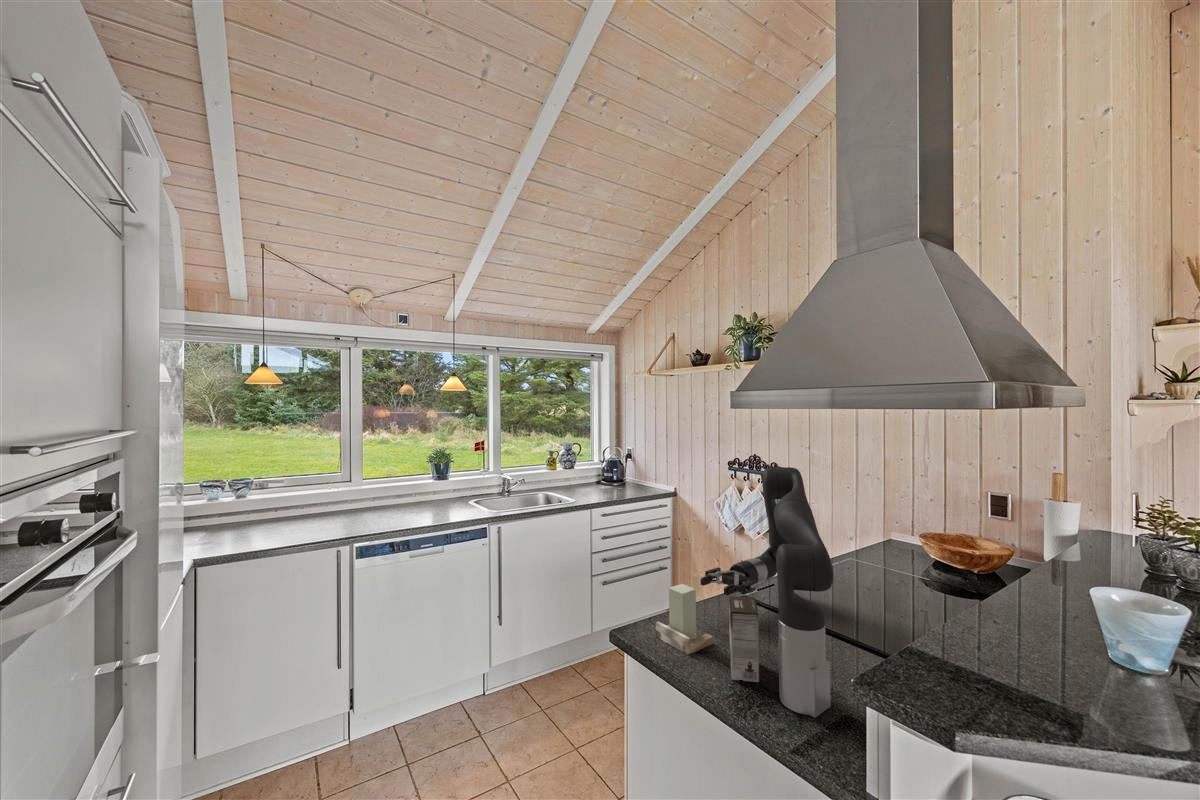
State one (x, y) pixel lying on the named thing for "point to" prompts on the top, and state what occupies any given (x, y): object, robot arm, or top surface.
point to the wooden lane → (682, 639)
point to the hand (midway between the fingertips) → (712, 586)
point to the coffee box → (744, 638)
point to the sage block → (683, 610)
